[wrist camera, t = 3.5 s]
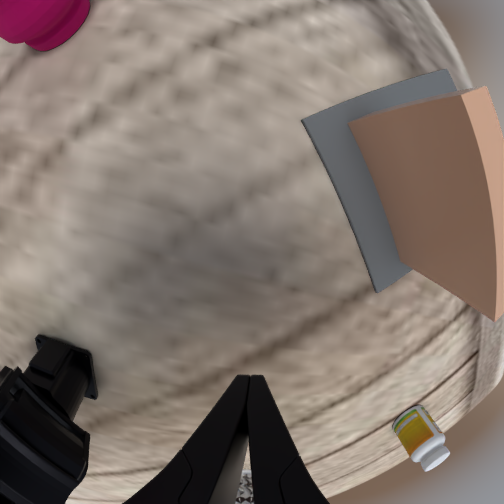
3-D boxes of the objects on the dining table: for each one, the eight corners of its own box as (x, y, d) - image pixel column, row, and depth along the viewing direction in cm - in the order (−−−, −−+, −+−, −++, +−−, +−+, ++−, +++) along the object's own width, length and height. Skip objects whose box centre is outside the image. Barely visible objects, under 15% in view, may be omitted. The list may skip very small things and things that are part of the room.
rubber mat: (375, 291, 22) (377, 293, 21) (300, 120, 17) (302, 119, 17) (487, 206, 21) (489, 207, 21) (444, 69, 16) (447, 68, 16)
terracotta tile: (400, 261, 21) (494, 322, 10) (347, 123, 17) (460, 94, 7) (421, 246, 21) (517, 296, 10) (373, 111, 17) (486, 85, 7)
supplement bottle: (386, 432, 30) (412, 479, 20) (402, 408, 28) (435, 457, 19) (412, 424, 30) (439, 466, 21) (428, 400, 29) (461, 443, 20)
